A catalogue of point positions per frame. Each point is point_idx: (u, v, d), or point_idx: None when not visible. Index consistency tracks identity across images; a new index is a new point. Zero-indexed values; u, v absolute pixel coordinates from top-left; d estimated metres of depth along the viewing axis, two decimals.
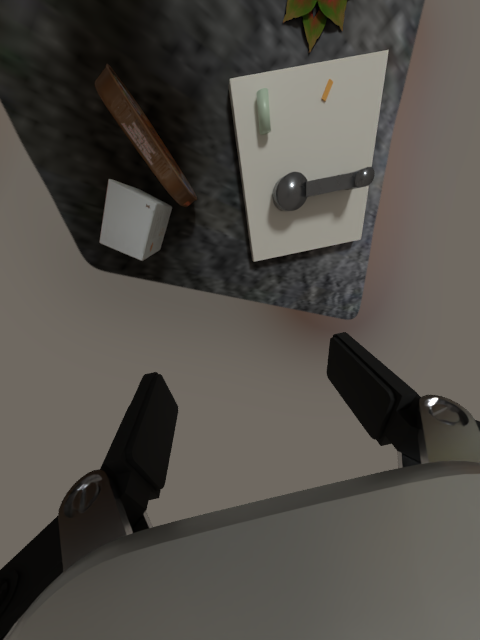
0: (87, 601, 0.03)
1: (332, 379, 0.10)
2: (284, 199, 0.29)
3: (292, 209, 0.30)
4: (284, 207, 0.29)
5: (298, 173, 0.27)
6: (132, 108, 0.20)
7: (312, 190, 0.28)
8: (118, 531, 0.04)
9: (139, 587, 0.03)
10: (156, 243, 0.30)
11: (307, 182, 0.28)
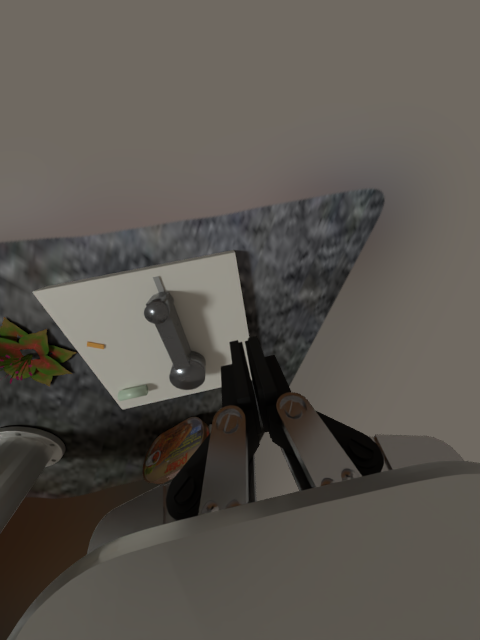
0: (86, 602, 0.03)
1: (252, 379, 0.11)
2: (195, 383, 0.27)
3: (203, 375, 0.26)
4: (202, 381, 0.27)
5: (170, 376, 0.26)
6: (159, 478, 0.33)
7: (182, 363, 0.25)
8: (241, 477, 0.05)
9: (139, 586, 0.03)
10: None
11: (176, 368, 0.25)
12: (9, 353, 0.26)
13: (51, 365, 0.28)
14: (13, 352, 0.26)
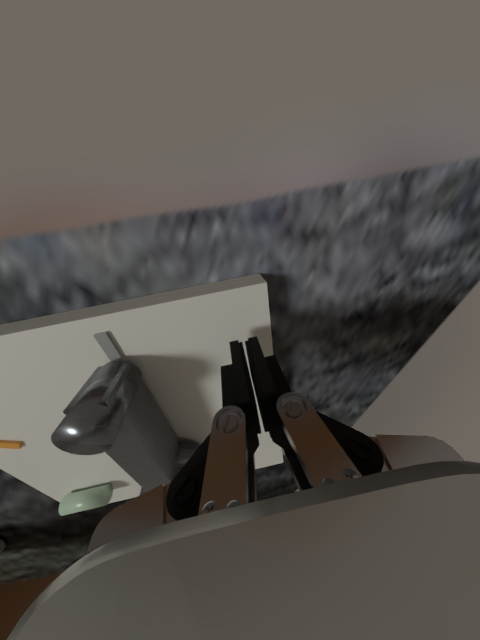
0: (87, 603, 0.03)
1: (252, 379, 0.11)
2: None
3: None
4: None
5: None
6: None
7: None
8: (241, 477, 0.05)
9: (139, 587, 0.03)
10: None
11: None
12: None
13: None
14: None
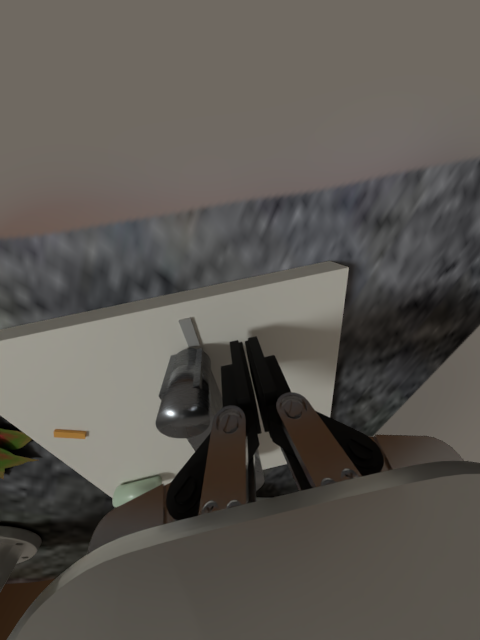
0: (87, 603, 0.03)
1: (252, 379, 0.11)
2: None
3: (262, 479, 0.15)
4: (258, 487, 0.16)
5: None
6: None
7: None
8: (241, 477, 0.05)
9: (139, 587, 0.03)
10: None
11: None
12: None
13: None
14: None
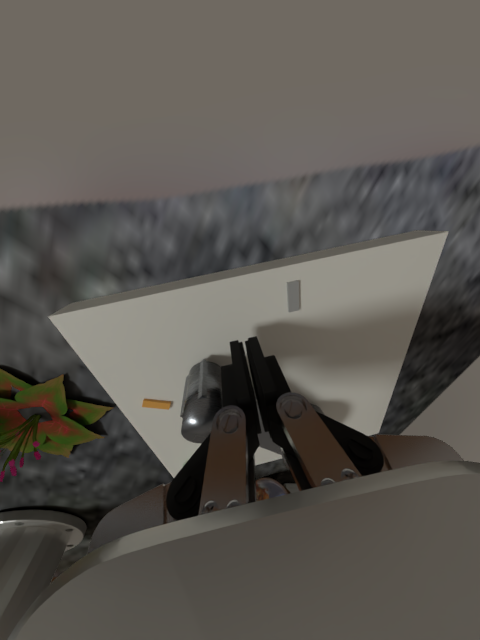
0: (87, 602, 0.03)
1: (252, 379, 0.11)
2: None
3: None
4: None
5: (287, 466, 0.15)
6: None
7: None
8: (241, 478, 0.05)
9: (139, 586, 0.03)
10: None
11: None
12: (0, 417, 0.15)
13: (71, 429, 0.16)
14: (6, 415, 0.15)
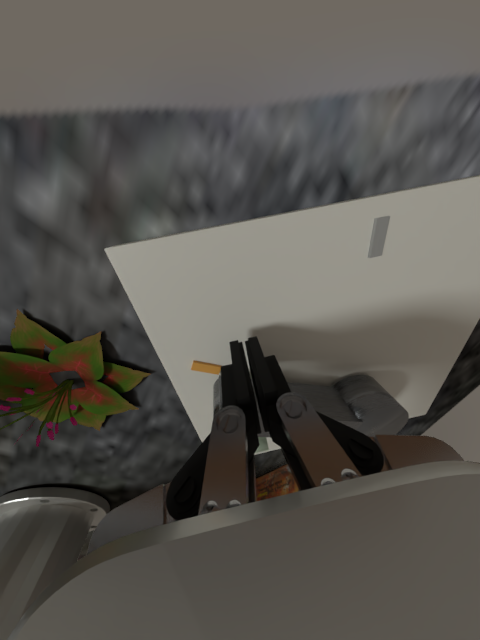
0: (87, 603, 0.03)
1: (252, 379, 0.11)
2: (396, 423, 0.14)
3: (397, 408, 0.13)
4: (406, 413, 0.13)
5: None
6: None
7: None
8: (241, 478, 0.05)
9: (139, 587, 0.03)
10: None
11: None
12: (31, 381, 0.14)
13: (105, 398, 0.15)
14: (38, 378, 0.14)
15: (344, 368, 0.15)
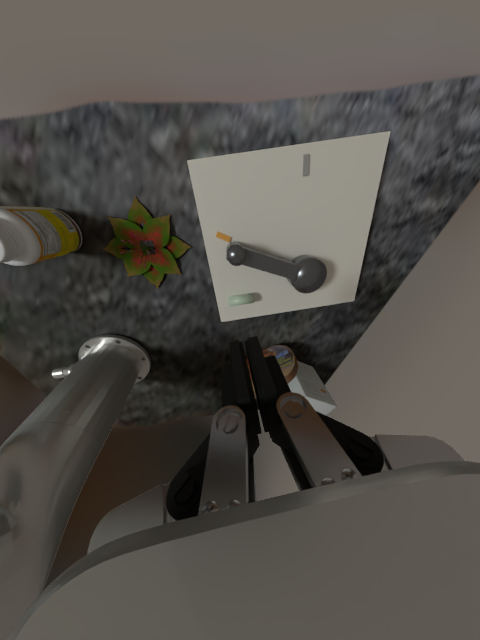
0: (86, 603, 0.03)
1: (252, 379, 0.11)
2: (320, 274, 0.26)
3: (319, 261, 0.25)
4: (325, 267, 0.26)
5: (297, 289, 0.27)
6: None
7: (292, 270, 0.25)
8: (241, 477, 0.05)
9: (139, 587, 0.03)
10: (316, 380, 0.38)
11: (294, 279, 0.26)
12: (131, 243, 0.26)
13: (165, 261, 0.28)
14: (134, 243, 0.26)
15: (297, 250, 0.27)
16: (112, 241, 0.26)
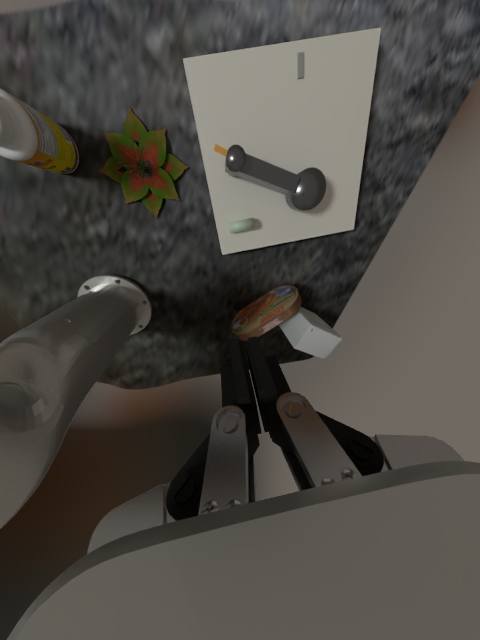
0: (86, 603, 0.03)
1: (252, 379, 0.11)
2: (320, 187, 0.26)
3: (317, 170, 0.25)
4: (324, 178, 0.26)
5: (297, 205, 0.27)
6: (257, 327, 0.33)
7: (292, 179, 0.25)
8: (241, 477, 0.05)
9: (139, 587, 0.03)
10: (320, 320, 0.38)
11: (294, 191, 0.26)
12: (128, 163, 0.26)
13: (163, 184, 0.28)
14: (130, 163, 0.26)
15: (295, 167, 0.27)
16: (108, 161, 0.26)
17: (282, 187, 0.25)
